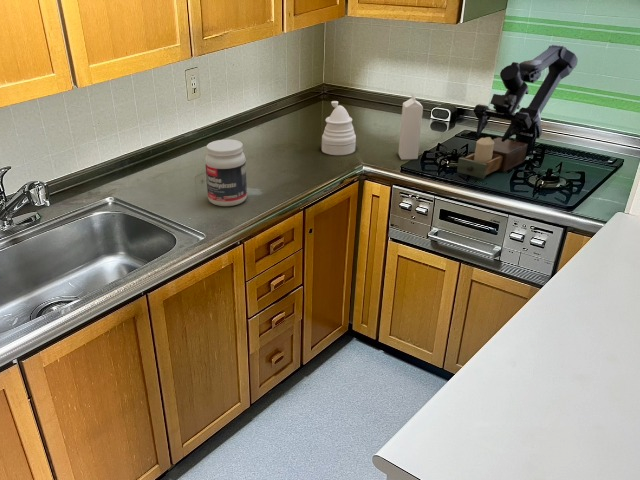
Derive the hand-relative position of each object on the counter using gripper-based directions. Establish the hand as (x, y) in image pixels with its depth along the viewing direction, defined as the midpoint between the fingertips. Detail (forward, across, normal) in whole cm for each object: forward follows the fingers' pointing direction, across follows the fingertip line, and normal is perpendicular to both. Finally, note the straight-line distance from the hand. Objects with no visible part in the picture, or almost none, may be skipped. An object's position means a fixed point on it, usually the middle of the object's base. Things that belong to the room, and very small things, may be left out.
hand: (489, 138), depth 209 cm
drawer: (+10, 0, +5) cm, 11 cm away
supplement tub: (+62, -45, -47) cm, 90 cm away
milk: (+12, -28, +4) cm, 30 cm away
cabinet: (+1, 0, +15) cm, 15 cm away
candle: (+8, 0, +5) cm, 10 cm away
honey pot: (+19, -52, -3) cm, 56 cm away
